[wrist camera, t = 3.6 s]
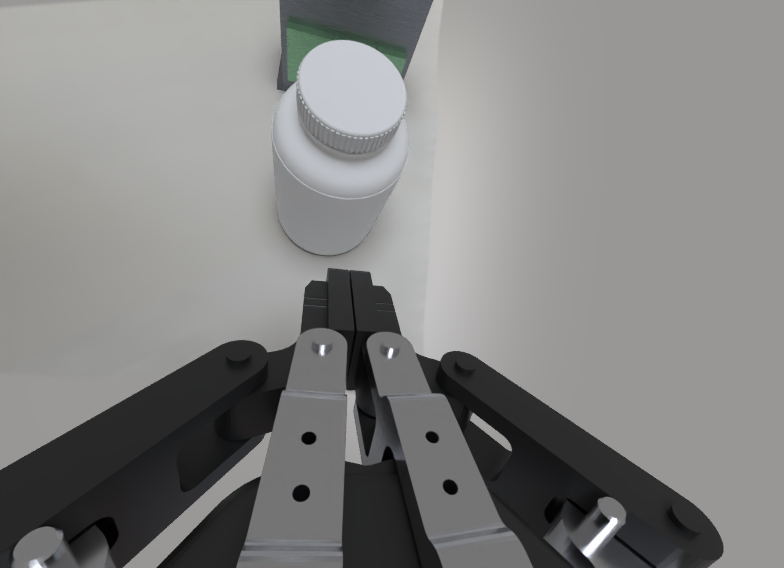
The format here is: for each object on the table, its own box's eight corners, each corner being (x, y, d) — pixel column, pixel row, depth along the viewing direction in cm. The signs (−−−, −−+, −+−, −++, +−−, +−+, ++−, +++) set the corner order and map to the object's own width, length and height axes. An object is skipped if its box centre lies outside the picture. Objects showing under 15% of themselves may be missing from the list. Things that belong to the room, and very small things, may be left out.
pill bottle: (356, 271, 31) (408, 186, 17) (262, 236, 29) (232, 111, 15) (383, 193, 33) (450, 59, 19) (298, 157, 32) (301, -16, 18)
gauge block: (395, 124, 35) (449, -10, 23) (276, 98, 32) (264, -70, 20) (398, 73, 36) (450, -80, 24) (284, 44, 34) (278, -143, 22)
